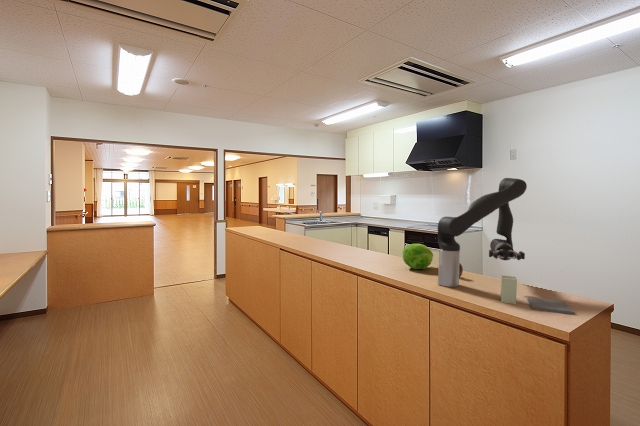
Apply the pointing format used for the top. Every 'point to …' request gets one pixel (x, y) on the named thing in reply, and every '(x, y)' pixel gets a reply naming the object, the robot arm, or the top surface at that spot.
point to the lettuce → (417, 256)
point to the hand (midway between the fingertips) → (507, 257)
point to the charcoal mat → (549, 305)
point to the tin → (460, 269)
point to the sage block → (508, 289)
